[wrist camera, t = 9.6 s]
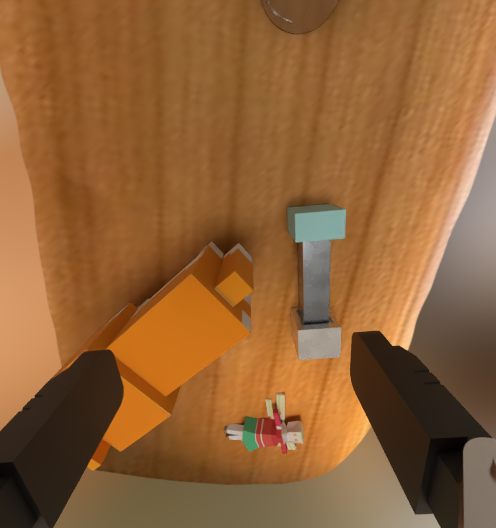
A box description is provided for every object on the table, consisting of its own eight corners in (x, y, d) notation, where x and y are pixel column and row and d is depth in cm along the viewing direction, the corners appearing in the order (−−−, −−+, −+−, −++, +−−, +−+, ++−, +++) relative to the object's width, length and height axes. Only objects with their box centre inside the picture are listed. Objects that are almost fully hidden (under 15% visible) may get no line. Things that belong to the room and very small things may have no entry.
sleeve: (327, 331, 43) (340, 356, 37) (291, 334, 43) (298, 359, 37) (327, 305, 42) (341, 327, 36) (290, 307, 42) (297, 330, 36)
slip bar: (322, 318, 41) (328, 331, 38) (299, 320, 41) (304, 333, 38) (323, 218, 36) (330, 222, 33) (297, 220, 36) (302, 225, 33)
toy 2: (213, 412, 46) (297, 409, 43) (218, 395, 50) (296, 391, 47) (232, 467, 51) (309, 467, 48) (235, 447, 55) (307, 447, 52)
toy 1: (93, 331, 43) (-27, 452, 24) (221, 214, 37) (194, 254, 18) (140, 368, 46) (64, 504, 27) (268, 265, 39) (286, 347, 21)
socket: (329, 228, 38) (344, 238, 32) (288, 231, 38) (295, 242, 32) (329, 203, 36) (345, 209, 30) (287, 207, 37) (294, 213, 31)
